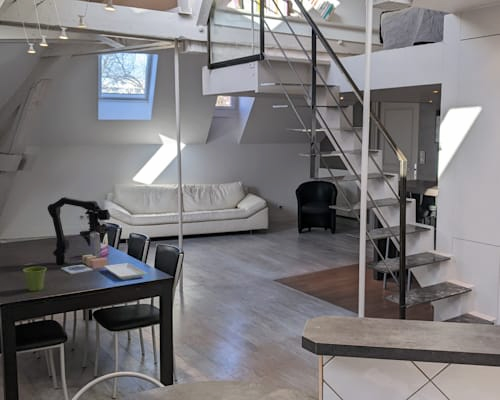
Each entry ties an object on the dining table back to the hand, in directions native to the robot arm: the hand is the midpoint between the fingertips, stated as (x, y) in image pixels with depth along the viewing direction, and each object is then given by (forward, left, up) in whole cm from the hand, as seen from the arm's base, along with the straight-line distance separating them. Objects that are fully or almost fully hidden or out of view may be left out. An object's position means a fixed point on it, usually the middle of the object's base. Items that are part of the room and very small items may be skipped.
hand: (95, 244), depth 355 cm
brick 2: (+8, -2, -13) cm, 15 cm away
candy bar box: (-20, +12, -13) cm, 27 cm away
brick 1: (-4, -3, -13) cm, 14 cm away
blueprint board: (+7, -16, -13) cm, 21 cm away
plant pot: (+36, -50, -13) cm, 63 cm away
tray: (+36, +2, -13) cm, 38 cm away
